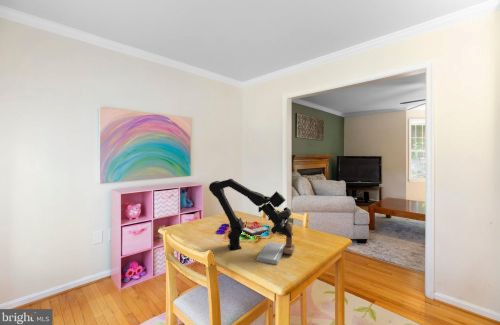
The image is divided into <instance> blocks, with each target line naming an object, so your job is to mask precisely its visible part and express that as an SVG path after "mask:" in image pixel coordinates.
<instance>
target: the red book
mask: <svg viewBox="0 0 500 325" xmlns="http://www.w3.org/2000/svg"><path fill="white" fill-rule="evenodd" d="M266 231H269V232H270V230H269V229H268V228H267V227H265V226H262V225H259V224H256V225H250V226H247V227H244V230H243V232H245V233H246V234H248V235H250V236H254V235H261V234H262V233H264V232H266Z"/></svg>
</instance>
